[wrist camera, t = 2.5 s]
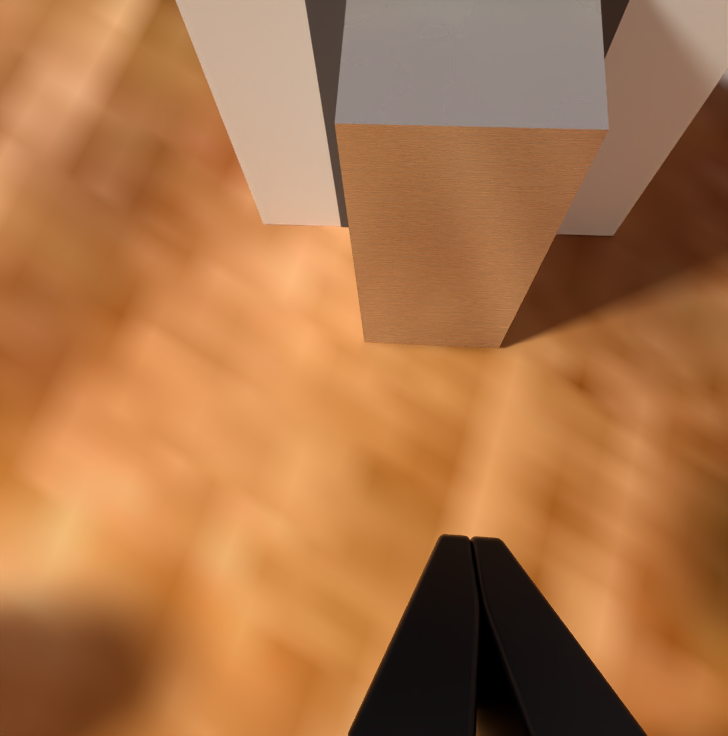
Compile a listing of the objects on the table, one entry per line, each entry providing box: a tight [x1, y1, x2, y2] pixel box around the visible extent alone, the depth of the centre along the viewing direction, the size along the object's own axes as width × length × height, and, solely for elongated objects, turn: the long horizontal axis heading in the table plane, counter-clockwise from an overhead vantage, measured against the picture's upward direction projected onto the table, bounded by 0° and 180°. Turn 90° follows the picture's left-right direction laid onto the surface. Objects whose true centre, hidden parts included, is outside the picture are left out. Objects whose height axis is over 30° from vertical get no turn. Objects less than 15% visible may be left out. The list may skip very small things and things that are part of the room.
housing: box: [176, 0, 728, 236], centre depth 18 cm, size 6×14×15 cm, turn 86°
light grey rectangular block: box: [335, 0, 609, 348], centre depth 18 cm, size 10×5×12 cm, turn 176°
